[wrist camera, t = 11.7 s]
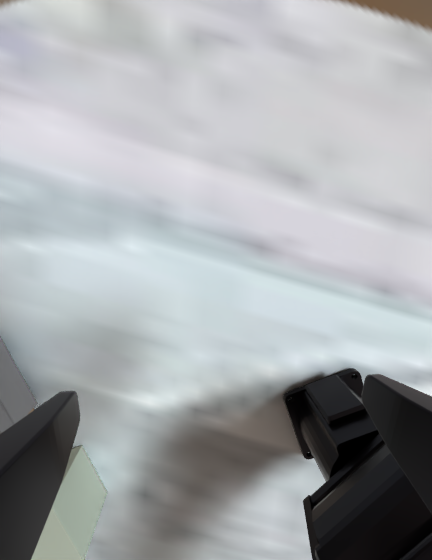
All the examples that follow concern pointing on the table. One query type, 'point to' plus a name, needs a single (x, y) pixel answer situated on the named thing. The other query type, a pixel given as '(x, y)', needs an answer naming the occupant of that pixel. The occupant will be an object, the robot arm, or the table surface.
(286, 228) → the table surface
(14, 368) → the grey block with handle
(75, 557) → the gauge cabinet
